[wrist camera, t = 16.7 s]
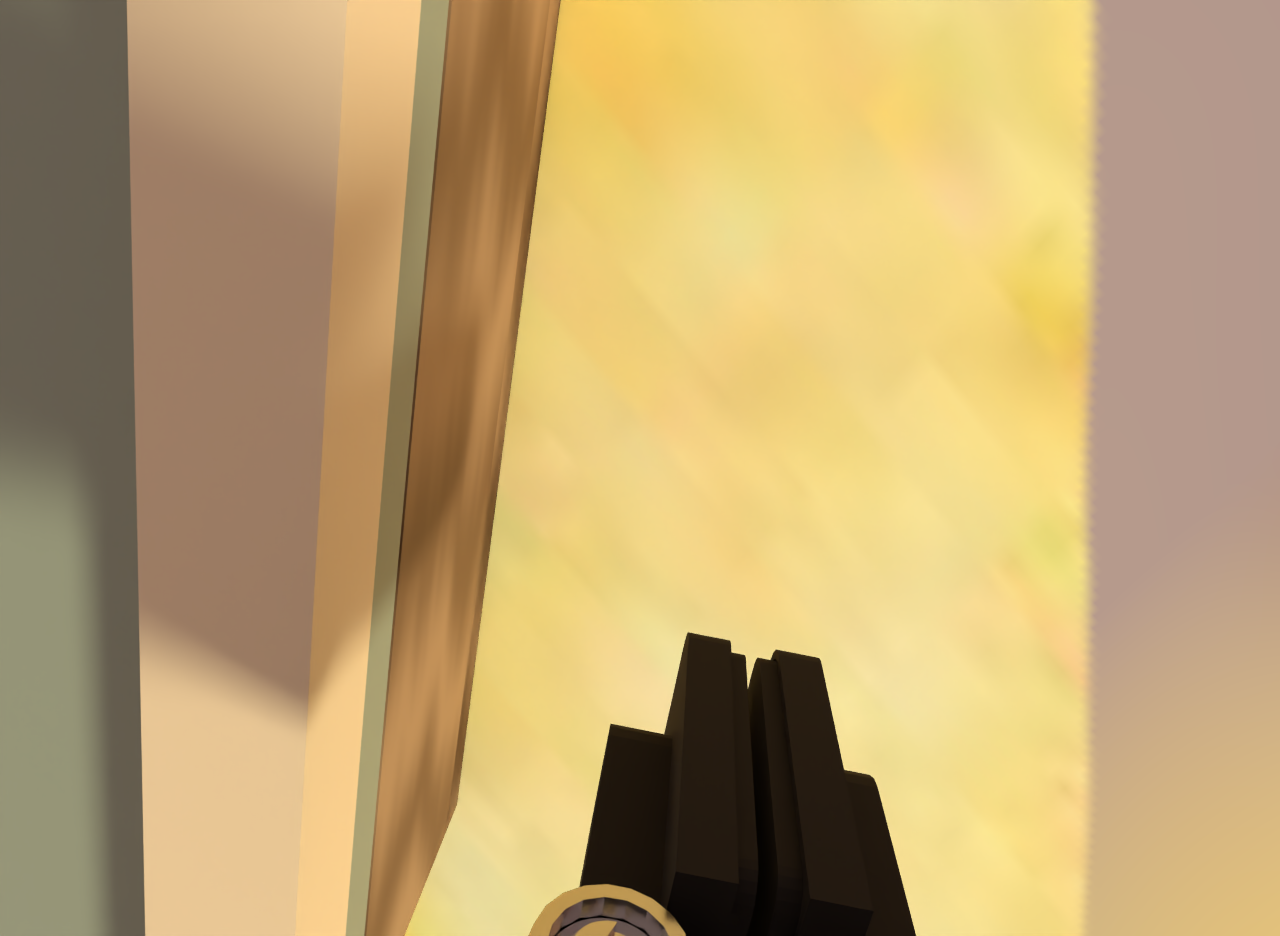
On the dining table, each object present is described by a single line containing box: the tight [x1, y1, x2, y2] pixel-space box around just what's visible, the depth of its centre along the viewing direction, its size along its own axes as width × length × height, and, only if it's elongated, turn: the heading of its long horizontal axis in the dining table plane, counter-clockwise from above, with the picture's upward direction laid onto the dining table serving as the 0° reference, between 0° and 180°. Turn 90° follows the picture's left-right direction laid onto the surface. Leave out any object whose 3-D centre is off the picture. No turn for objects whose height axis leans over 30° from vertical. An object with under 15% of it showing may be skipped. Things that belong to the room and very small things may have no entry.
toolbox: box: [364, 0, 560, 936], centre depth 17 cm, size 20×14×7 cm
